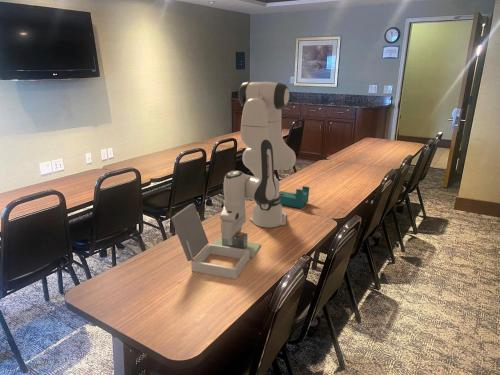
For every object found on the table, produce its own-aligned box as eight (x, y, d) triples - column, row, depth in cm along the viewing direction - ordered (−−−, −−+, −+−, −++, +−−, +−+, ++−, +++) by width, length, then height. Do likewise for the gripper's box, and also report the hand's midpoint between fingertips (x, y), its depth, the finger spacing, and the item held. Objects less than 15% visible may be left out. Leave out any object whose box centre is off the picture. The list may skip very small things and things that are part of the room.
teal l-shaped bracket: (307, 204, 209) (309, 187, 206) (300, 208, 200) (302, 190, 197) (280, 198, 218) (281, 182, 215) (272, 202, 208) (273, 185, 206)
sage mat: (218, 239, 162) (218, 237, 162) (260, 245, 156) (260, 243, 156) (207, 250, 151) (207, 249, 151) (252, 258, 145) (252, 256, 145)
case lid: (208, 242, 149) (205, 243, 149) (193, 203, 145) (190, 203, 146) (191, 260, 134) (187, 261, 135) (174, 217, 131) (170, 218, 131)
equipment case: (204, 251, 151) (203, 224, 147) (249, 258, 145) (249, 231, 141) (186, 270, 136) (185, 241, 132) (235, 279, 130) (235, 249, 127)
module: (226, 242, 157) (226, 229, 155) (247, 246, 154) (247, 232, 152) (222, 246, 153) (221, 233, 151) (243, 250, 150) (243, 237, 148)
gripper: (235, 200, 159) (236, 229, 163) (218, 217, 140) (218, 248, 144) (249, 202, 157) (249, 230, 161) (233, 219, 138) (233, 251, 143)
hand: (234, 239), depth 153 cm, fingers open, 8 cm apart
